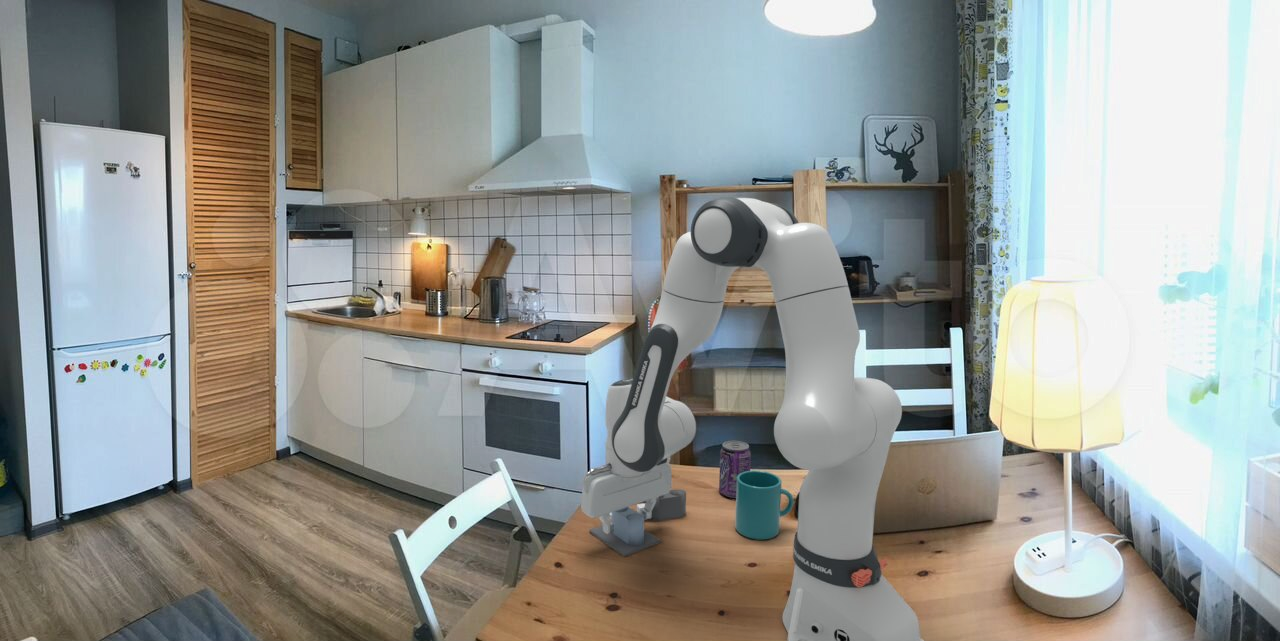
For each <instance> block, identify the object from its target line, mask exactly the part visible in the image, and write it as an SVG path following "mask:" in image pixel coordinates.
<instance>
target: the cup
mask: <svg viewBox="0 0 1280 641" xmlns="http://www.w3.org/2000/svg"><path fill="white" fill-rule="evenodd" d="M782 483H783V482H782V478H780V477H779V476H778V475H776V474H774V473H771V472H768V471H763V470H750V471H746V472H742V473H740V474H739V475H738V476H737V485H736V498H735V518H734V519H735V521H734V523H735V524H734V527H735V529H736V531H737V532H738V533H739V534H740V535H742V536H743V537H744V538H745V537H746V538H749V539H753V540H757V541H759V540H760V541H761V540H770V539H774V538H775V537H776V536H777V535H778V534H779V532H780V526H781V525H780V524H781V517H785V516H786V515H788V514H789V513H790V512H791V511H792V509H793V506H794V497H793V495H792V493H791V492H789V490H787V489H785V488H782ZM782 495H784V496H786V497H787V500H788V503H787V506H786V507H785V508H784V509H782V510H781V507H782V506H781V502H782V500H781V499H782Z"/></svg>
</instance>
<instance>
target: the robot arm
mask: <svg viewBox="0 0 1280 641" xmlns="http://www.w3.org/2000/svg"><path fill="white" fill-rule="evenodd" d="M739 268H746V269H750V268H759V269H761V270H762V271H764V272H765V273H766V275H767V277H768V280H769V283H770V286H771V290H772V294H773V299H774V303H775V307H776V312H777V318H778V322H779V326H780V331H781V337H782V341H783V345H784V353H785V355H784V356H785V382H784V394H783V400H782V404H781V406H780V407H781V408H780V410H779V412H778V413H777V415H776V418H775V421H774V425H773V436H774V441H775V443H776V446H777V448H778V450H779V452H780V454H781V456H783V458H784V459H785V460H786V461H787V462H789V464H791V465H793V467H795V468H798V469H802V470H805V471H808V472H807V474H806V476H805V477H804V479H803V480H802V483H801V485H800V488H799V493H798V512H797V531H796V532H795V534H794V539H793V550H792V559H793V561H794V568H793V577H792V580H791V587H790V591H789V594H788V595H789V596H788V599H787V602H786V605H785V608H784V609H783V612H782V624H783V625H784V628H785V630H786V632H787V639H786V641H925V640H924V639H923V638H922V637H921V632H920V624H919V619H918V616H917V615H916V612H915V611H914V610H913V609H912V608H911V606H910V605H909V604H908V603H907V602H906V601H905V600H904V598H902V596H901V595H900V594H899V593H898V592H897V591H896V589H895V587H893V586H892V585H891V583H890V582H889V581H888V579H887V578H885V576H884V575H883V574H882V572H883V571H882V569H885V568H886V567H887V566H888V560H889V558H888V557H885V558H884V559H881V560H880V561H879V558H878V556H877V553H876V549H875V546H874V544H873V537H874V524H875V523H874V522H875V510H876V502H877V496H878V491H879V487H880V484H881V480H882V477H883V473H884V469H885V465H886V462H887V458H888V455H889V450H890V446H891V442H892V440H893V436H894V434H895V431H896V430H897V428H898V426H899V424H900V423H901V420H902V416H903V415H902V414H903V408H902V407H903V406H902V403H901V399H900V398H899V395H898V394H897V392H896V391H895V390H894V389H893V387H892V386H891V385H889V384H888V383H886V382H885V381H883V380H880V379H876V378H871V377H855V363H856V362H855V360H856V353H857V349H858V346H859V344H860V339H861V333H860V330H859V325H858V320H857V316H856V312H855V308H854V305H853V300H852V296H851V291H850V287H849V284H848V280H847V276H846V272H845V269H844V266H843V263H842V261H841V258H840V255H839V253H838V250H837V248H836V246H835V243H834V242H833V239H832V237H831V235H830V233H829V232H828V230H827V229H826V228H824V227H823V226H822V225H820V224H818V223H811V222H799V221H798V219H797V217H796V216H795V214H794V213H793V212H791V210H789V209H788V208H787V207H784V206H782V205H780V204H778V203H775V202H774V203H771V202H767V201H762V200H760V199H757V198H752V197H751V198H750V197H734V196H733V197H732V196H723V197H718V198H714V199H712V200H709V201H707V202H705V203H704V204H702V206H701V207H699V208H698V210H697V211H696V212H695V214H694V216H693V218H692V221H691V226H690V231H688V232H686V233H684V234H682V235H681V236H680V237H679V238H678V239H677V241H676V243H675V246H674V248H673V251H672V253H671V257H670V259H669V262H668V265H667V268H666V273H665V276H664V280H663V285H662V289H661V290H662V291H661V295H660V298H659V303H658V306H657V309H656V314H655V317H654V320H653V323H652V325H651V327H650V329H649V332H648V334H647V336H646V338H645V341H644V343H643V345H642V348H641V351H640V354H639V358H638V361H637V365H636V368H635V372H634V375H633V377H629V378H624V379H620V380H617V381H615V382H613V383H612V384H610V386H609V388H608V391H607V394H606V400H605V427H606V429H607V430H606V431H607V436H606V439H605V464H604V465H601V466H599V467H593V468H590V469H589V471H588V472H587V473H586V474H585V475H584V476H583V478H582V492H581V493H582V494H581V500H580V501H581V503H580V506H581V507H580V509H581V511H582V513H584V514H585V515H586V516H587V517H589V518H591V519H596V518H599V520H600V522H601V524H602V525H603V531H604V532H605V533H606V534H608V533H611V532H614V529H613V528H614V524H613V523H611V522H612V521H611V520H609V519H608V518H609V517H610V513H611V512H614V511H617V510H620V509H623V508H626V507H633V506H634V505H637V504H642V503H645V506H644V509H641V515H643V516H644V521H646V520H649V519H650V518H651V517H652V510H653V508H654V505H655V503H656V497H659V496H662V495H665V494H668V493H669V491H670V490H672V483H673V482H672V481H673V480H672V479H673V477H672V476H673V475H672V474H673V472H672V467H671V464H670V462H671V457H672V456H673V455H675V454H676V453H678V452H679V451H681V450H682V449H684V448H686V447H687V446H688V445H690V444H692V442H693V441H694V440H695V438H696V434H697V428H698V427H697V420H696V417H695V414H694V413H693V411H692V409H691V408H690V407H689V406H688V405H687V404H686V403H684V402H683V401H680V400H676V399H674V398H671V397H669V396H667V395H668V392H669V388H670V384H671V381H672V378H673V376H674V373H675V372H676V370H677V369H678V368H679V366H680V364H681V363H682V362H683V360H685V359H686V358H687V357H688V356H690V354H692V352H694V351H695V350H696V349H697V348H699V347H700V346H701V345H702V344H704V343H705V342H706V341H708V340H709V339H710V338H711V337H712V336H713V334H714V332H715V331H716V328H717V326H718V323H719V321H720V318H721V315H722V312H723V309H724V308H723V307H724V303H725V298H726V293H727V288H728V284H729V281H730V277H731V276H732V274H733V273H734V271H736V270H737V269H739ZM644 501H646V502H644Z"/></svg>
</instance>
